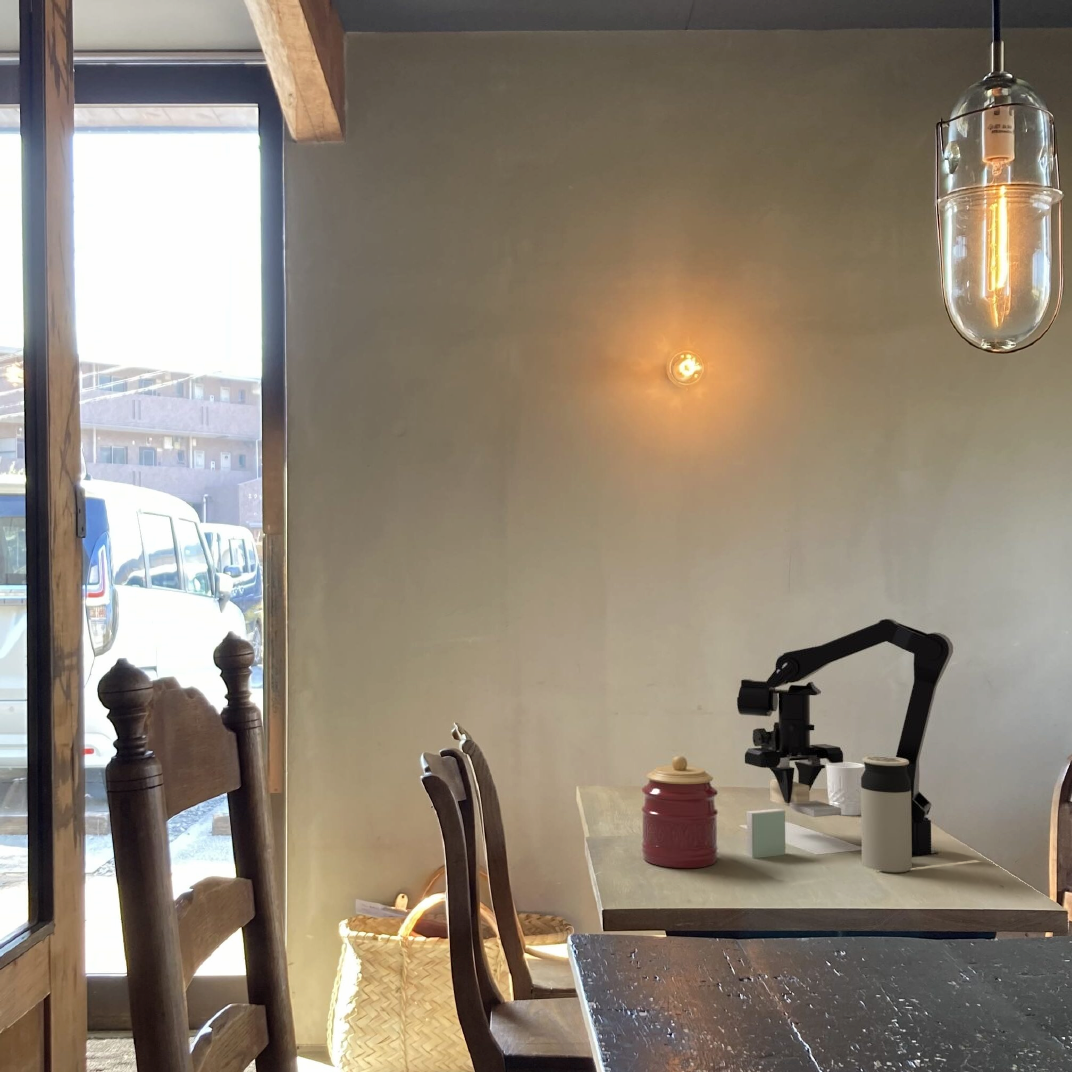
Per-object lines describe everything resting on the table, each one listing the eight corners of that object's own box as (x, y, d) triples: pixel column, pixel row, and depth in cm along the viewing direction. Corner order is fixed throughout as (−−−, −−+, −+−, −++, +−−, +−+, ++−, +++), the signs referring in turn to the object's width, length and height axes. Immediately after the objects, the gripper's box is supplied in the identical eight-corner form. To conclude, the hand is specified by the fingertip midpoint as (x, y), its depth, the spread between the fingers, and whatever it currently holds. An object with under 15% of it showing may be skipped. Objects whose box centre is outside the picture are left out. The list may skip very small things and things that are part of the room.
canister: (721, 853, 181) (721, 752, 182) (713, 872, 169) (713, 763, 170) (648, 848, 185) (648, 748, 186) (635, 866, 172) (635, 759, 173)
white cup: (861, 809, 220) (860, 762, 221) (869, 817, 212) (868, 768, 213) (823, 808, 221) (823, 761, 222) (830, 816, 213) (829, 767, 214)
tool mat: (867, 851, 184) (867, 848, 184) (817, 856, 180) (817, 854, 180) (784, 823, 206) (784, 821, 206) (738, 827, 202) (738, 825, 202)
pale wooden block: (841, 814, 185) (840, 792, 185) (813, 817, 183) (813, 794, 183) (789, 799, 199) (789, 778, 199) (763, 801, 197) (763, 780, 197)
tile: (786, 856, 179) (785, 810, 180) (752, 860, 177) (752, 813, 177) (780, 854, 181) (780, 808, 181) (746, 858, 178) (746, 811, 179)
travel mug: (879, 875, 168) (878, 763, 169) (852, 862, 176) (851, 756, 177) (922, 872, 170) (920, 762, 171) (893, 860, 178) (892, 754, 179)
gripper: (807, 711, 205) (808, 791, 204) (728, 715, 197) (728, 797, 197) (844, 718, 194) (845, 801, 194) (762, 722, 187) (762, 809, 186)
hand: (794, 802), depth 193 cm, fingers closed on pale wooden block, 3 cm apart
